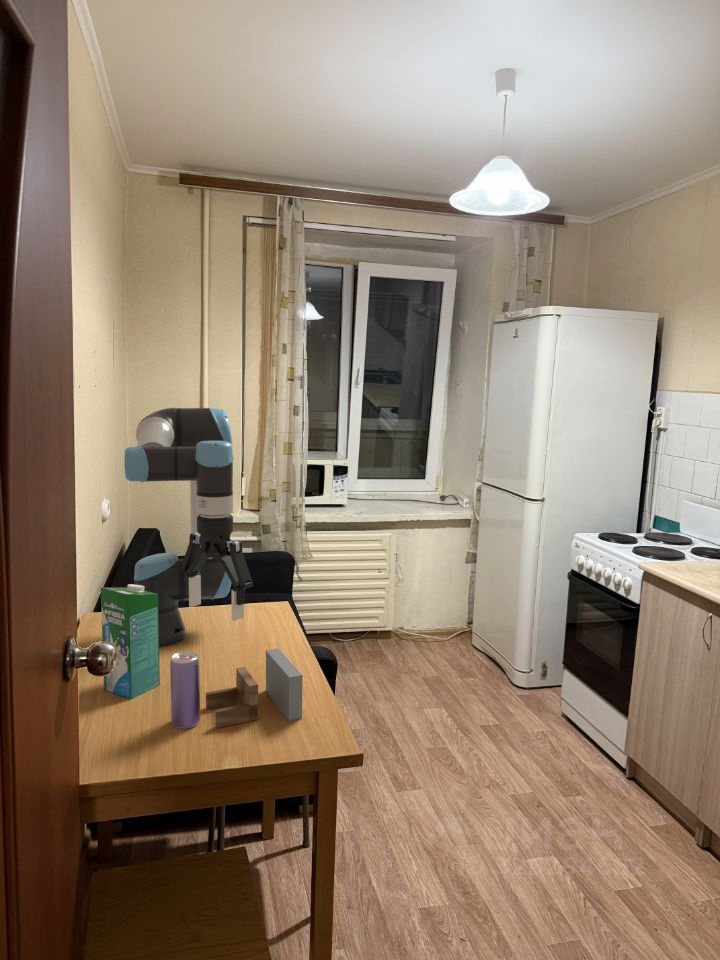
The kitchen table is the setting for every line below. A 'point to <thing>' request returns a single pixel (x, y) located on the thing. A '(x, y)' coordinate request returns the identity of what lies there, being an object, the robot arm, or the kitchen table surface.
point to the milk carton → (131, 639)
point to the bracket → (235, 700)
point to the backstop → (284, 684)
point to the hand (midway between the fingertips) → (215, 612)
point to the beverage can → (185, 689)
